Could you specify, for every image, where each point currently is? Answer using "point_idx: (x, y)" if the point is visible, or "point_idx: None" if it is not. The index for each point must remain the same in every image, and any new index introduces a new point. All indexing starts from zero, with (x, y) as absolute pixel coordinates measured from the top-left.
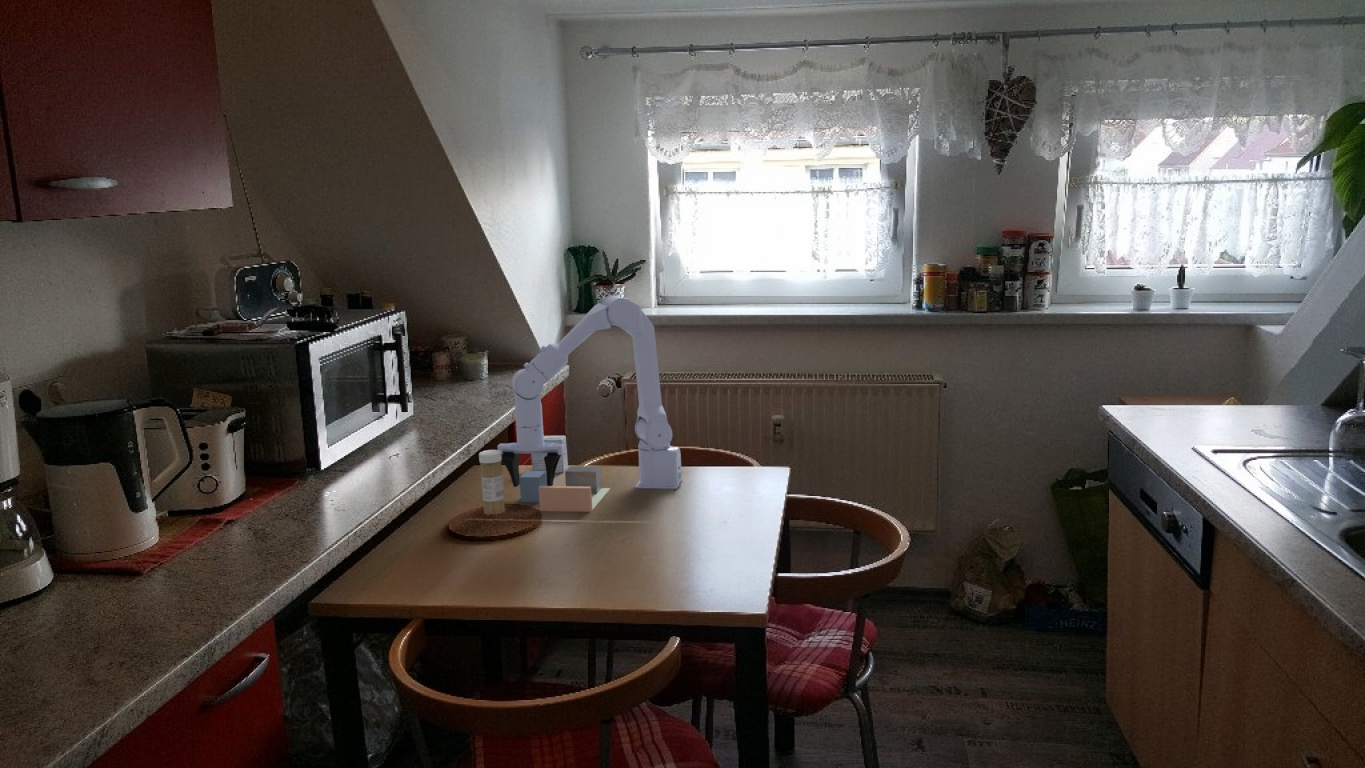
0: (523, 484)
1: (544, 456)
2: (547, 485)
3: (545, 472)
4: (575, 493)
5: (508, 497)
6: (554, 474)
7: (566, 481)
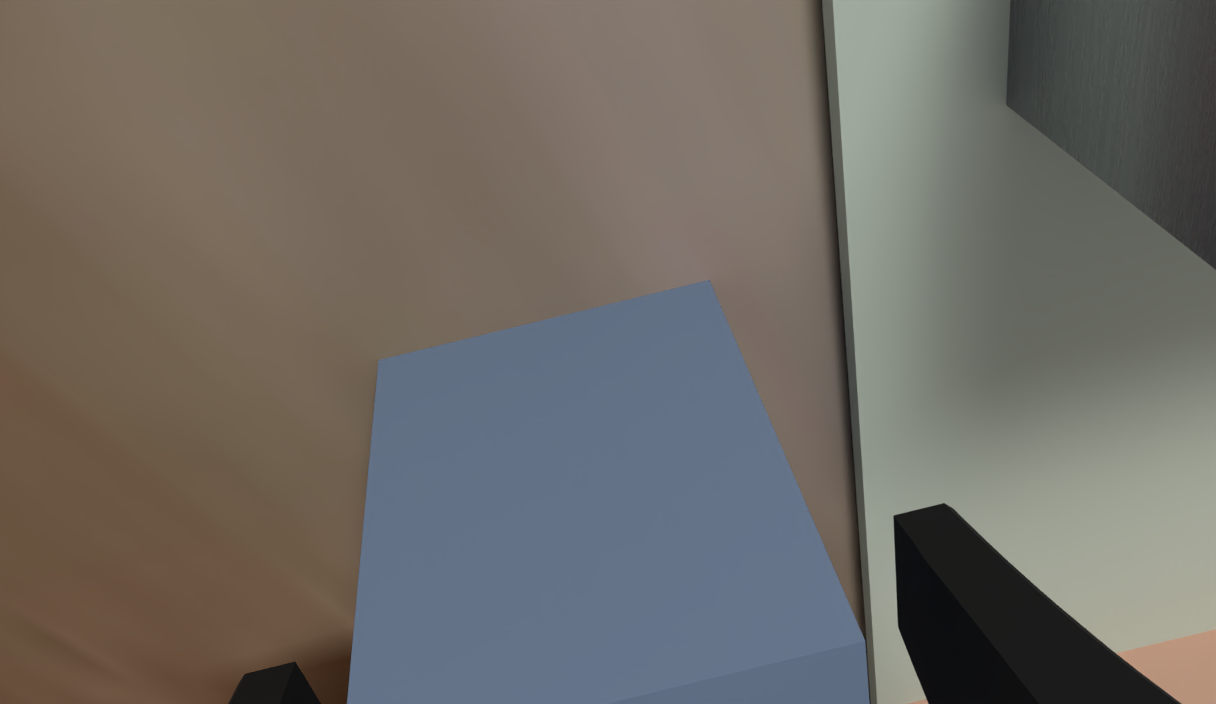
0: None
1: None
2: (916, 657)
3: (861, 669)
4: None
5: (73, 469)
6: (1084, 628)
7: (1155, 203)
